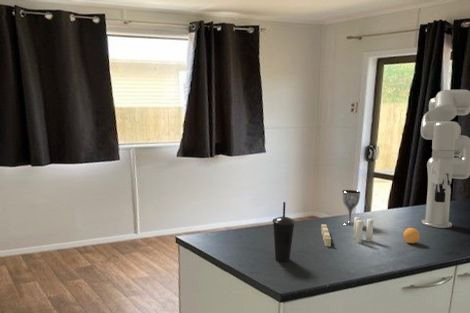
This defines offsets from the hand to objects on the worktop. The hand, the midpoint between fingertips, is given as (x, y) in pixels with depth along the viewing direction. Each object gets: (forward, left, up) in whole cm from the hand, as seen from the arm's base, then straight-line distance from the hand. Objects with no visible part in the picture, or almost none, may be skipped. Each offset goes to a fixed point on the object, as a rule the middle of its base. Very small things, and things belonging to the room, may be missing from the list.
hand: (439, 201), depth 161 cm
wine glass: (-25, -29, -17) cm, 42 cm away
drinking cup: (+27, -59, -17) cm, 68 cm away
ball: (0, -9, -14) cm, 17 cm away
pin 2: (+2, -30, -17) cm, 35 cm away
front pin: (0, -25, -17) cm, 31 cm away
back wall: (0, -42, -17) cm, 46 cm away
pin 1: (-3, -30, -17) cm, 35 cm away
